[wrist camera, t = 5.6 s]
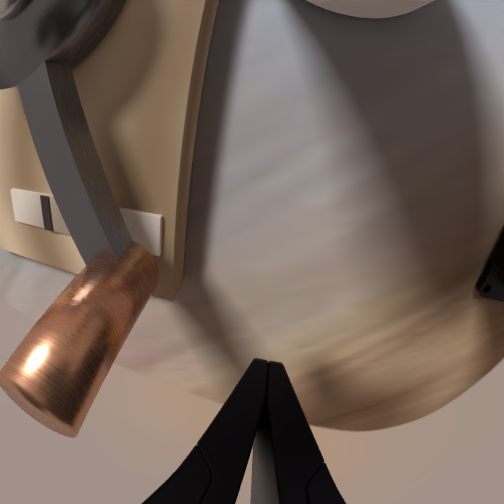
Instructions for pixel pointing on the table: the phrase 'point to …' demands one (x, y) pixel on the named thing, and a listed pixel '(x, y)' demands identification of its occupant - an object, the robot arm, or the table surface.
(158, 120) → the stand
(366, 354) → the table surface
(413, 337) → the table surface
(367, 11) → the can
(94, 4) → the lever
